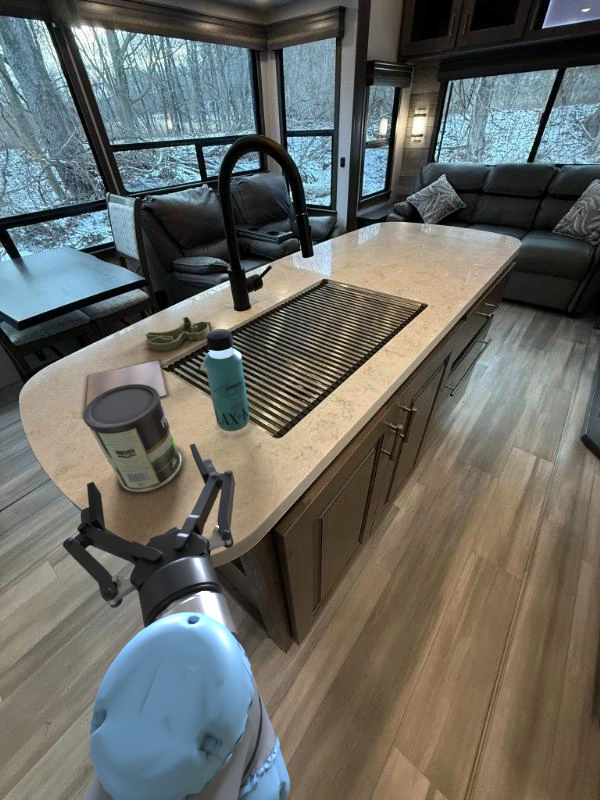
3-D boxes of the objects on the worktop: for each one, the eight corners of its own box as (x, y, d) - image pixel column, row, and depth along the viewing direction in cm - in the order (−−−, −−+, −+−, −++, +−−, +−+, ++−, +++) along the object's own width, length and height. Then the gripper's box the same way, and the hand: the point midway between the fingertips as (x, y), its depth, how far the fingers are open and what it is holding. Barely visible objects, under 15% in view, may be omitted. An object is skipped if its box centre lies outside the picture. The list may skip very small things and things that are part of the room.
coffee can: (171, 437, 62) (149, 375, 54) (190, 473, 56) (168, 409, 47) (112, 461, 58) (78, 398, 49) (125, 503, 51) (88, 439, 42)
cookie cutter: (192, 320, 103) (191, 314, 101) (218, 330, 97) (217, 324, 96) (140, 342, 92) (137, 336, 90) (165, 356, 86) (163, 349, 84)
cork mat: (85, 416, 68) (85, 415, 67) (88, 376, 79) (88, 375, 79) (166, 395, 73) (166, 395, 73) (158, 360, 84) (158, 360, 84)
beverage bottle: (210, 429, 64) (187, 336, 52) (234, 410, 68) (218, 320, 56) (235, 442, 61) (217, 347, 49) (258, 422, 65) (247, 330, 53)
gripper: (59, 707, 30) (58, 524, 45) (297, 566, 40) (233, 453, 54) (14, 687, 25) (29, 489, 40) (295, 533, 35) (226, 418, 50)
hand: (146, 468), depth 47 cm, fingers open, 13 cm apart
